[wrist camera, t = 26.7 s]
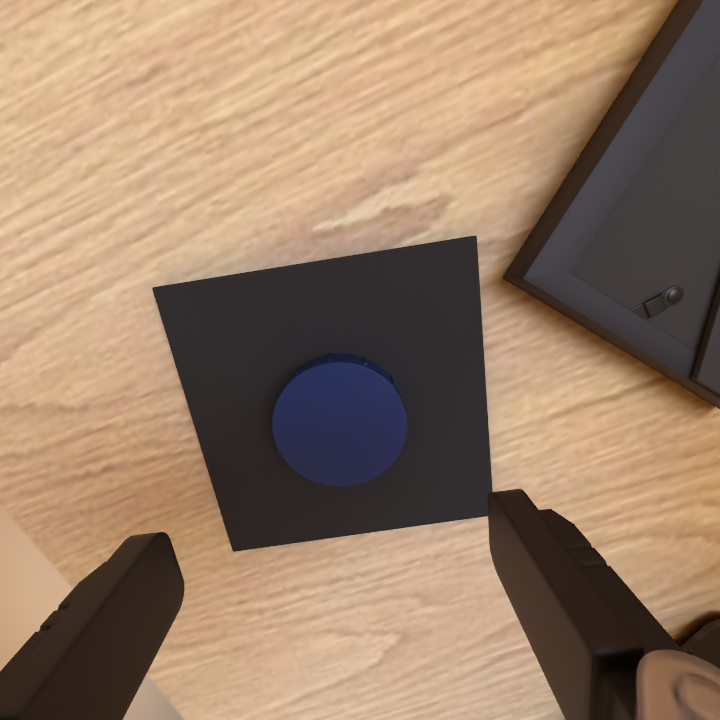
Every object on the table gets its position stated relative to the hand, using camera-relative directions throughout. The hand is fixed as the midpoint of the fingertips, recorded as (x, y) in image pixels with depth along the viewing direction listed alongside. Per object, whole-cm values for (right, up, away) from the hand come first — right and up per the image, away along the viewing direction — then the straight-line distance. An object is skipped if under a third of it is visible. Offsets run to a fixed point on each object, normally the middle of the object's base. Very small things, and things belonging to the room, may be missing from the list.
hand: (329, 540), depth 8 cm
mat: (0, +2, +8) cm, 9 cm away
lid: (0, +2, +6) cm, 7 cm away
